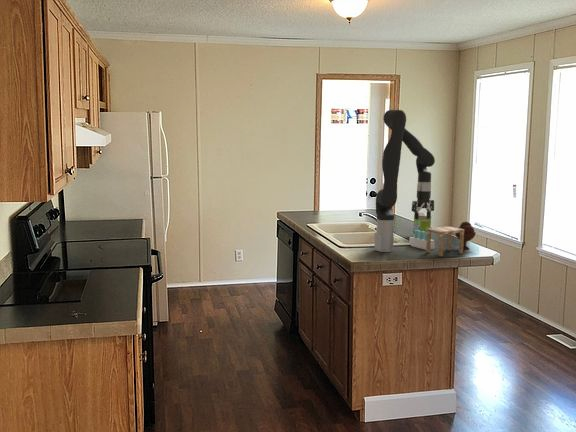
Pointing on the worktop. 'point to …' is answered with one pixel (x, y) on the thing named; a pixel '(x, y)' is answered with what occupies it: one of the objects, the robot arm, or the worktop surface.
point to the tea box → (422, 223)
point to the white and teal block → (420, 240)
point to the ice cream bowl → (466, 233)
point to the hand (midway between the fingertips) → (422, 219)
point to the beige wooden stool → (443, 231)
